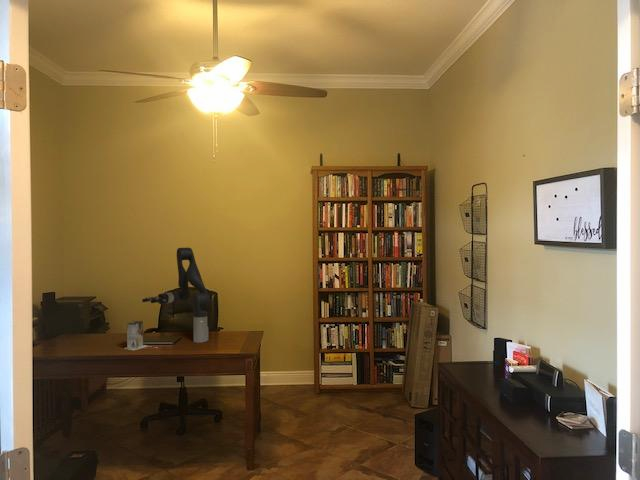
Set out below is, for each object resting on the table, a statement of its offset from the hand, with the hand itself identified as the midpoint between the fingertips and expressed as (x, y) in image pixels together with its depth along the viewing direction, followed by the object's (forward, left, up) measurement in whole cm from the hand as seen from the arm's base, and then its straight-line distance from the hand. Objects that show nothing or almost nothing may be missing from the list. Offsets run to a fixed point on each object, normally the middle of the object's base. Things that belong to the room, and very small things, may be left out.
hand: (146, 301), depth 314 cm
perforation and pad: (+14, +11, -28) cm, 33 cm away
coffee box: (+15, +7, -28) cm, 32 cm away
